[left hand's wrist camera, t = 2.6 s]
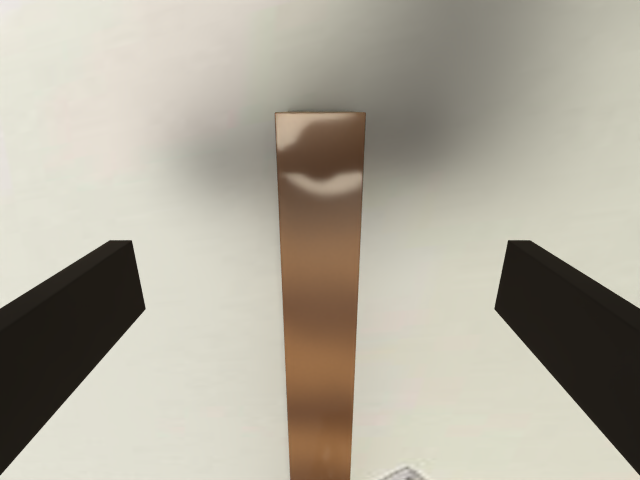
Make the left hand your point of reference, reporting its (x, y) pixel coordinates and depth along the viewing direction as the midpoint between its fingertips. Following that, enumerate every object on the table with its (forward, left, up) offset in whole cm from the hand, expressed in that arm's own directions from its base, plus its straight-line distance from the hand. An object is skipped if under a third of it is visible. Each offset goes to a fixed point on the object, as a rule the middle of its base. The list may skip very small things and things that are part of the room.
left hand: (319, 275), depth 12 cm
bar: (+23, +26, -16) cm, 38 cm away
